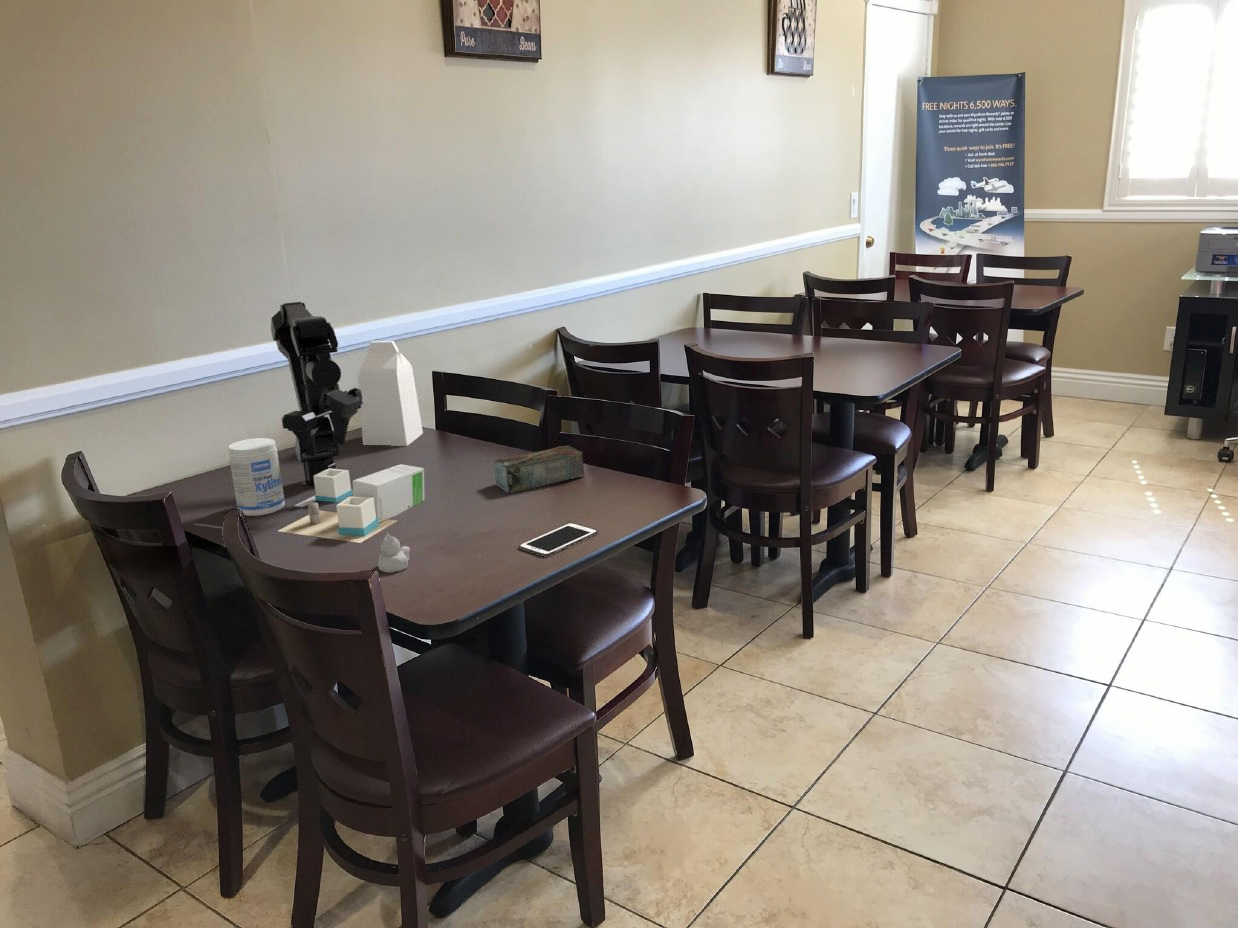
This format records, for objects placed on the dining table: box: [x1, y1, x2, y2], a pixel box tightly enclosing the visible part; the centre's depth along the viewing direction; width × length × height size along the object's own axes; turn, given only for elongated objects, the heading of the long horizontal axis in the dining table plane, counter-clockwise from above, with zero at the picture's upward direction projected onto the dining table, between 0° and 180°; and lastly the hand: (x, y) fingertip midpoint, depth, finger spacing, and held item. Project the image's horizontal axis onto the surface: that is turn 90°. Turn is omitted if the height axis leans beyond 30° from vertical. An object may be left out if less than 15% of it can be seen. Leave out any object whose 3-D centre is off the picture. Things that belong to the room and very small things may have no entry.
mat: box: [294, 495, 317, 508], centre depth 207 cm, size 12×12×1 cm
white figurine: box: [377, 531, 411, 574], centre depth 169 cm, size 5×7×8 cm
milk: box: [357, 340, 424, 447], centre depth 247 cm, size 12×12×26 cm
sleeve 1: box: [313, 468, 353, 503], centre depth 206 cm, size 6×6×6 cm
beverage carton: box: [493, 444, 585, 494], centre depth 213 cm, size 8×19×7 cm, turn 119°
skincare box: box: [352, 463, 425, 523], centre depth 196 cm, size 8×7×16 cm
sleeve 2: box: [335, 495, 379, 536], centre depth 186 cm, size 6×6×6 cm
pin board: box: [277, 501, 398, 544], centre depth 189 cm, size 20×12×5 cm, turn 67°
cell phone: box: [518, 522, 599, 556], centre depth 180 cm, size 8×15×1 cm, turn 139°
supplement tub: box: [227, 437, 285, 517], centre depth 201 cm, size 10×10×15 cm
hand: (327, 450), depth 203 cm, fingers open, 9 cm apart
